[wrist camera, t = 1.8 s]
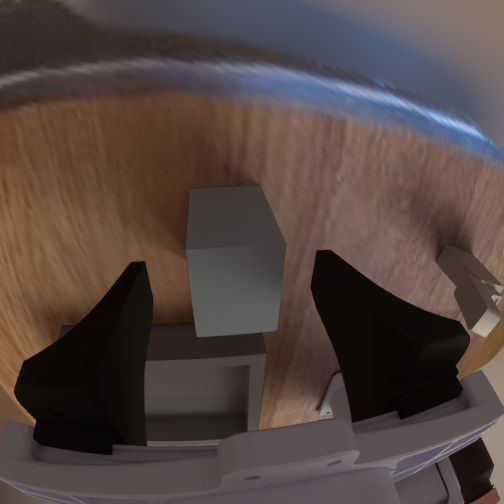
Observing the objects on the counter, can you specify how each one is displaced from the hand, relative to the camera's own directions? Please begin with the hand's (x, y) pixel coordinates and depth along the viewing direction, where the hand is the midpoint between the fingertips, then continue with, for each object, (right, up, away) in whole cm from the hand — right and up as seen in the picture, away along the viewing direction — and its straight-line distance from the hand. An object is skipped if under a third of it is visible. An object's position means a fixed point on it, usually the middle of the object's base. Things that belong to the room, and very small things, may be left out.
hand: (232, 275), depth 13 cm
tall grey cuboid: (-1, +2, +4) cm, 4 cm away
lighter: (+15, +1, +7) cm, 17 cm away
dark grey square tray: (-6, -10, +11) cm, 16 cm away
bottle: (+25, -18, +21) cm, 37 cm away
